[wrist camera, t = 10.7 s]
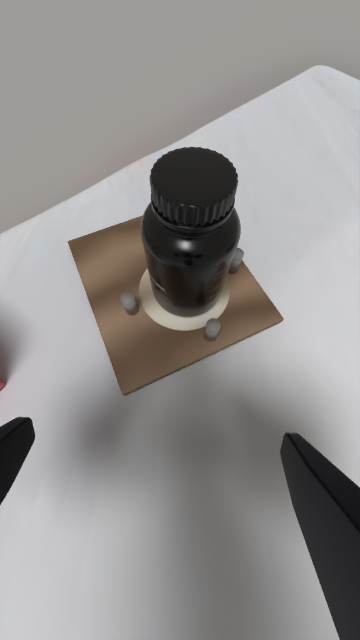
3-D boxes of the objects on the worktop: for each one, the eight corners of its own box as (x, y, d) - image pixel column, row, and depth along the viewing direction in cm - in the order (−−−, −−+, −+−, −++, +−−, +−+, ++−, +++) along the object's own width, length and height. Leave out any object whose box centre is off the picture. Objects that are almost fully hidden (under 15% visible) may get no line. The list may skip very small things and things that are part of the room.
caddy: (280, 322, 23) (295, 306, 20) (124, 395, 21) (115, 390, 18) (196, 202, 30) (198, 177, 27) (70, 246, 27) (56, 224, 24)
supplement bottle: (140, 304, 23) (104, 195, 12) (170, 252, 26) (162, 122, 15) (206, 331, 22) (233, 238, 11) (231, 273, 25) (272, 151, 14)
